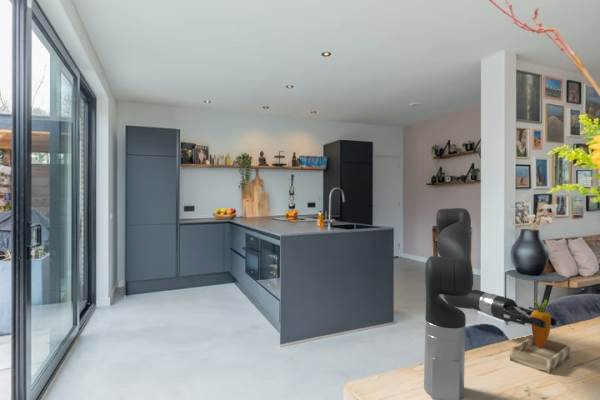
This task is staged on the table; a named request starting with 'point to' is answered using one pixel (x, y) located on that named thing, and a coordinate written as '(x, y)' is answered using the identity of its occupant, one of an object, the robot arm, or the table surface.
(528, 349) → the oak tray
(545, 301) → the carrot
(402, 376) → the table surface
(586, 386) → the table surface
